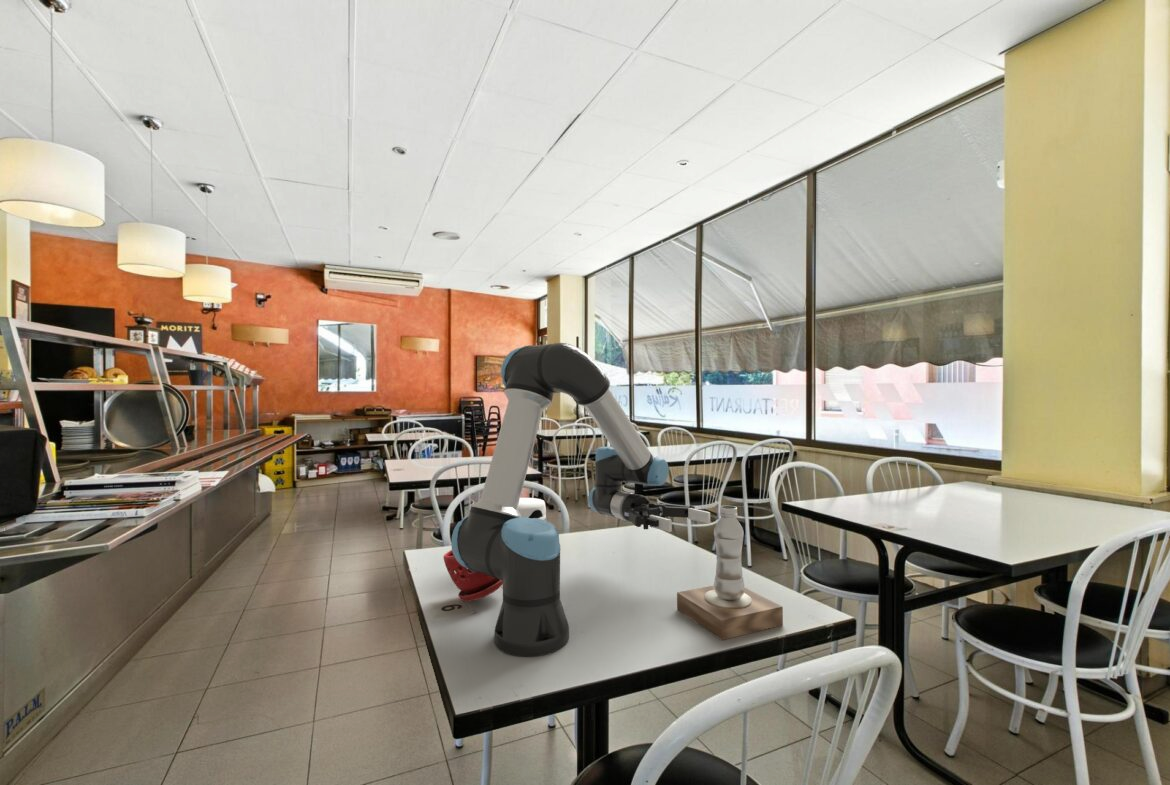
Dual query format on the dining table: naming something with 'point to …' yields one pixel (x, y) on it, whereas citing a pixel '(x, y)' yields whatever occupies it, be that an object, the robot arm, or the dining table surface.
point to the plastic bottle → (728, 555)
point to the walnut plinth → (729, 612)
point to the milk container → (532, 508)
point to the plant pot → (470, 580)
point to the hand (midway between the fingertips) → (690, 521)
